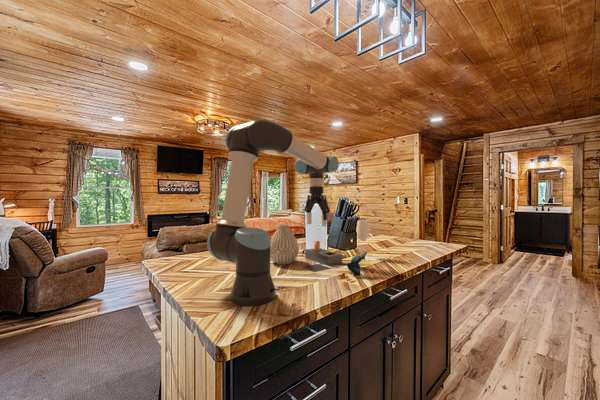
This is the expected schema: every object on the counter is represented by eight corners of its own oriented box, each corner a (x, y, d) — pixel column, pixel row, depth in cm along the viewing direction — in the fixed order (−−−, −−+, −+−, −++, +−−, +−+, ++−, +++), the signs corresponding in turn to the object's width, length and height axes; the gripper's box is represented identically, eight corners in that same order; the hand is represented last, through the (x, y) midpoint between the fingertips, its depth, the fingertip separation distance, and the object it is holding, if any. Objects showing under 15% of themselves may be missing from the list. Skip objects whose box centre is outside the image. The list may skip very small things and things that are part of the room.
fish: (370, 274, 114) (369, 252, 113) (350, 277, 110) (350, 254, 110) (364, 272, 118) (364, 250, 117) (344, 274, 114) (344, 252, 114)
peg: (320, 259, 142) (320, 241, 141) (316, 260, 140) (316, 241, 140) (317, 258, 144) (317, 240, 144) (313, 259, 142) (313, 241, 142)
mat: (331, 269, 122) (331, 268, 122) (314, 272, 117) (314, 271, 117) (318, 264, 131) (318, 263, 131) (302, 267, 125) (302, 266, 125)
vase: (280, 269, 123) (280, 227, 123) (262, 262, 135) (261, 224, 135) (305, 263, 134) (304, 224, 134) (285, 257, 146) (285, 222, 146)
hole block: (342, 264, 131) (342, 254, 131) (328, 266, 127) (328, 256, 126) (318, 256, 148) (318, 247, 148) (305, 258, 143) (305, 249, 143)
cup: (354, 256, 149) (354, 220, 149) (364, 255, 151) (364, 219, 151) (361, 258, 142) (361, 221, 142) (372, 257, 145) (372, 220, 144)
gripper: (336, 185, 133) (336, 226, 133) (309, 187, 154) (308, 223, 154) (325, 185, 129) (325, 227, 129) (298, 187, 150) (298, 223, 150)
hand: (316, 225), depth 141 cm, fingers open, 13 cm apart
